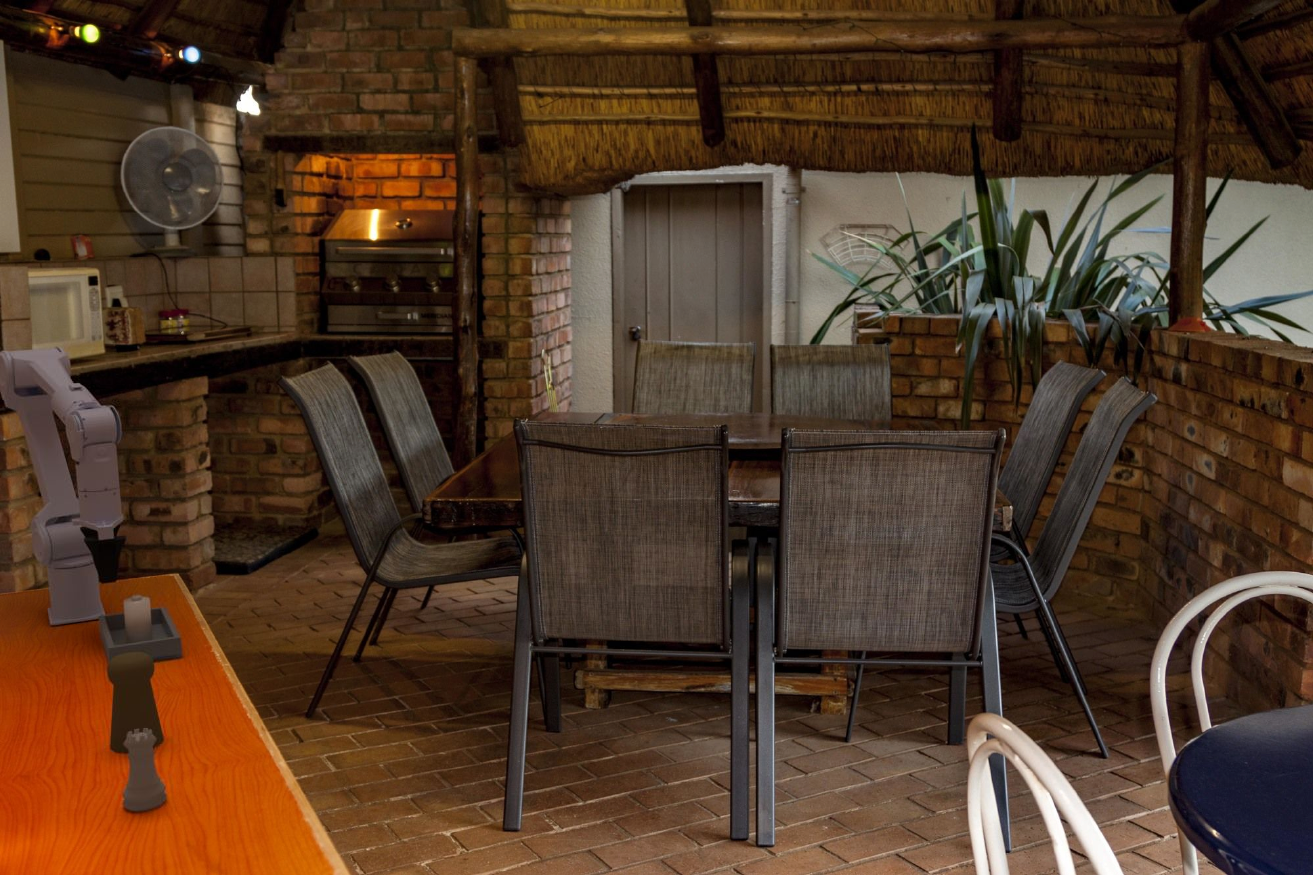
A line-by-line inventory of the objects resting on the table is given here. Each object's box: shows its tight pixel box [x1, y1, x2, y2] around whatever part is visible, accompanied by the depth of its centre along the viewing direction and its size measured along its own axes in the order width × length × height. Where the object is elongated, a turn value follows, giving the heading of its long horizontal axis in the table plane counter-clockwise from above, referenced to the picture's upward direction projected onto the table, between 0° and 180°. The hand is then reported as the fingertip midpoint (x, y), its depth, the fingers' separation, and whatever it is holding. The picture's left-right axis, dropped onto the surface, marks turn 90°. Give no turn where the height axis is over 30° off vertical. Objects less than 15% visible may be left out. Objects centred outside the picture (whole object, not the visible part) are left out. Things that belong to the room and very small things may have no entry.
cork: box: [106, 652, 165, 755], centre depth 149 cm, size 6×6×11 cm
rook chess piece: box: [121, 728, 168, 813], centre depth 133 cm, size 4×4×8 cm
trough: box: [98, 606, 183, 664], centre depth 186 cm, size 18×10×3 cm, turn 28°
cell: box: [123, 594, 153, 644], centre depth 185 cm, size 4×4×7 cm
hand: (106, 576), depth 189 cm, fingers open, 7 cm apart
